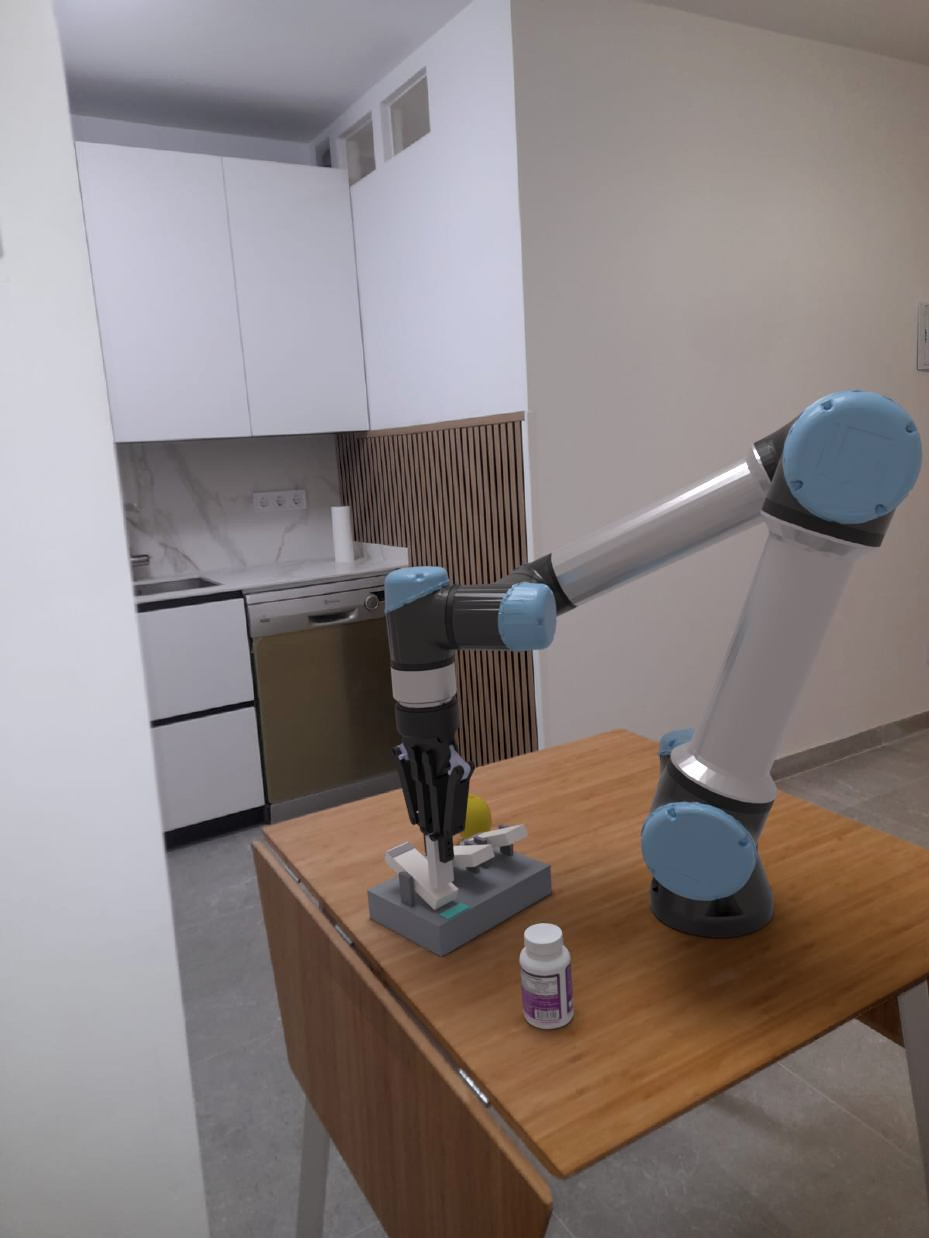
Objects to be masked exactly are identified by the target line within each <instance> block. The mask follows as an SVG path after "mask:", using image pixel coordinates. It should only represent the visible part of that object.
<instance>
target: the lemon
mask: <svg viewBox="0 0 929 1238" xmlns="http://www.w3.org/2000/svg"><path fill="white" fill-rule="evenodd" d="M492 820H493V819H492V813H491V809H490V807H489V804H488V803H487V802H486V800H484V799H483V798H482V797H481V796H478V795H475V794H473V793H469V794H468V803H467V813H466V823H465V830H464V831H463V832H461V833H459V834H458V835H459V836H460V837H461V838H462V839H463V840H465V839H467V838H469V837H471V836H473V835H475V834H477V833H481V832H489V831H491V829H492V823H493V821H492Z"/></svg>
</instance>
